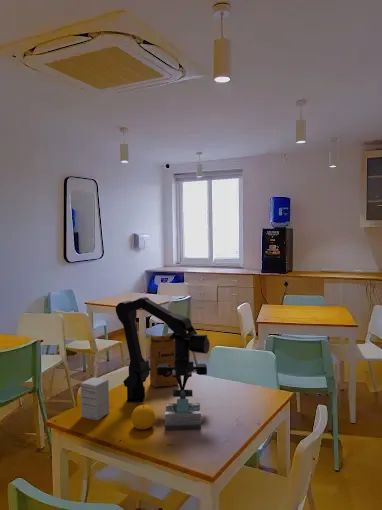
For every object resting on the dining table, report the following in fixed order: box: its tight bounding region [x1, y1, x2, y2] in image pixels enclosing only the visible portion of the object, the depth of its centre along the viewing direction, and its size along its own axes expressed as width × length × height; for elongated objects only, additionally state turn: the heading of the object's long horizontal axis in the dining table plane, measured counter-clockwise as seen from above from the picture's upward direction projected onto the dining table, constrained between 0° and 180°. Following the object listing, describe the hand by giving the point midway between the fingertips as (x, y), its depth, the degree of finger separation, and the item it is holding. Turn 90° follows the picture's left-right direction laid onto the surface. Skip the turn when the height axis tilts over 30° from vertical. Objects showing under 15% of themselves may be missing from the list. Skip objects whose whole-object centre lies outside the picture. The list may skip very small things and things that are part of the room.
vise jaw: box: [165, 389, 201, 412], centre depth 154 cm, size 12×6×7 cm, turn 91°
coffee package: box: [149, 334, 179, 388], centre depth 188 cm, size 10×12×22 cm
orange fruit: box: [130, 404, 156, 430], centre depth 145 cm, size 8×8×8 cm
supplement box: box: [80, 377, 110, 421], centre depth 156 cm, size 7×7×13 cm
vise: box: [164, 410, 202, 431], centre depth 152 cm, size 12×18×5 cm, turn 1°
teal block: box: [176, 398, 190, 412], centre depth 148 cm, size 5×4×6 cm
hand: (182, 391), depth 163 cm, fingers closed
